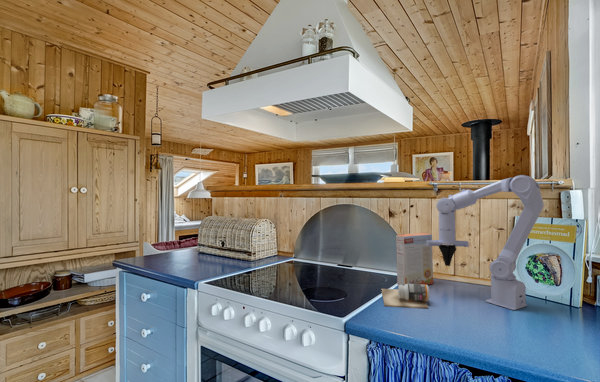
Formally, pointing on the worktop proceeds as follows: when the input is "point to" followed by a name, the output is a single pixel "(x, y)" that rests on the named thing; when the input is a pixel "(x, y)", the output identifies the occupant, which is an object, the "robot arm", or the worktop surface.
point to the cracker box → (414, 259)
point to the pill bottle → (414, 292)
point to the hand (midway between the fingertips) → (447, 265)
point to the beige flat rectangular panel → (400, 300)
